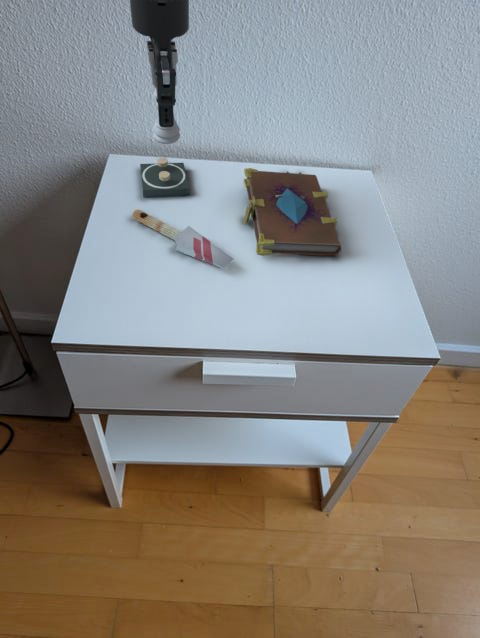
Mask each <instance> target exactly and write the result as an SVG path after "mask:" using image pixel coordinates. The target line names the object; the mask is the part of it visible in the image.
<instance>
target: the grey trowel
mask: <svg viewBox="0 0 480 638" xmlns="http://www.w3.org/2000/svg"><path fill="white" fill-rule="evenodd" d="M132 219H133V220H135V221H137V222H139V223H141V224H143V225H145V226H147V227H148V228H151V229H152V230H154V231H156V232H158V233H160V234H162V235H164V236H166V237H168V238H169V239H172V240H173V241H175V243H176V247H175V249H174V250H175V251H177V252H179V253H181V254H184V255H186V256H190V257H192V258H194V259H198V260H200V261H203V262H206V263H208V264H211V265H212V266H216V267H219V268H221V269H225V268H227V266H229V265H230V264H231V263H232V262H233V261H234V260H235V258H234V257H232V256H231V255H230V254H228V253H227V252H225V250H223V249H221V248H220V247H219V246H217V245H216V244H214V242H212V241H210V240H209V239H207V238H206V237H204V236H203V235H202V234H201V233H199V232H198V231H197V230H195V229H194V228H192V227H191V226H190V225H188V226H186V227H185V228H184V229H183V230H182V231H181V230H180V229H177V228H175V227H173V226H171V225H169V224H167V223H166V222H164V221H162V220H160V219H158V218H155V217H153V216H152V215H150V214H148V213H146V212H144V211H143V210H141V209H138V208H137V209H135V210H134V211H133V213H132Z"/></svg>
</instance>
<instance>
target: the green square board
mask: <svg viewBox="0 0 480 638" xmlns="http://www.w3.org/2000/svg"><path fill="white" fill-rule="evenodd" d="M139 166H140V179H141V186H142V196H143V198H155V197H175V196H189V195H190V188H189V182H188V178H187V173H186V168H185V167H186V166H185V163H184V162H168V165H167V166H166V167H160V166H158V165H157V162H156V163H155V162H154V163H140V164H139ZM162 171H167V172H169V173H170V179H169V180H168V181H162V180H160V179H159V173H160V172H162Z"/></svg>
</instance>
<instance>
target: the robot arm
mask: <svg viewBox="0 0 480 638" xmlns="http://www.w3.org/2000/svg"><path fill="white" fill-rule="evenodd" d="M129 5H130V7H129V8H130V16H131V17H130V18H131V25H132V28H133V30H135V31H136V32H137V33H138V34H140V35H142V36H143V37H149V39H150V40H146V49H147V56H148V62H149V69H150V74H151V81H152V85H153V86H154V88H155V90H156V92H157V97H155V102H157V103H158V114H159V125H160V126H161V127H173V125H174V118H175V116H174V117H173V112H174V106H176V103H177V99H176V86H177V85H178V84H177V83H178V82H177V79H178V78H177V64H178V49H177V48H176V41H174V39H176V38H180V37H183V36H184V35H185V34H187V33H188V31H189V28H190V0H129ZM173 105H174V106H173Z"/></svg>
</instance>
